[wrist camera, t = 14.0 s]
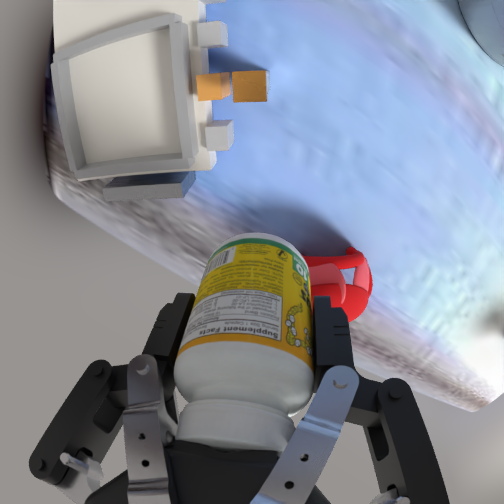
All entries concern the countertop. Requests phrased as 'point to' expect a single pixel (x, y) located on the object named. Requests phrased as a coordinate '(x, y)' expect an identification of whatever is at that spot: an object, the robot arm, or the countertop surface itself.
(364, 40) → the countertop surface
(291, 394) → the supplement bottle
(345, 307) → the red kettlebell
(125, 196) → the index track
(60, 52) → the toothed carriage
